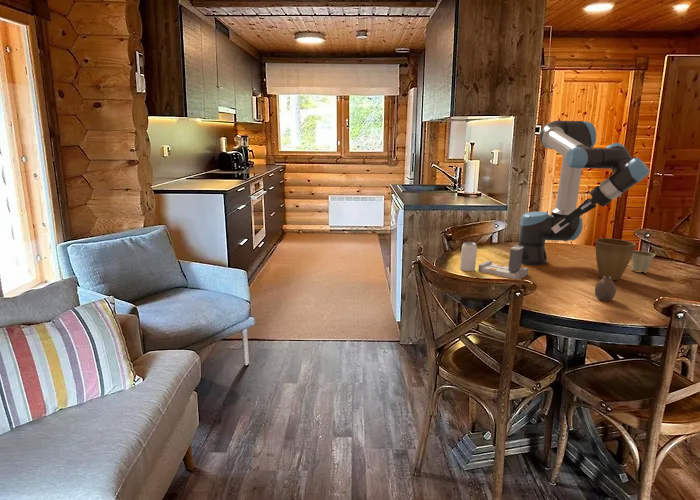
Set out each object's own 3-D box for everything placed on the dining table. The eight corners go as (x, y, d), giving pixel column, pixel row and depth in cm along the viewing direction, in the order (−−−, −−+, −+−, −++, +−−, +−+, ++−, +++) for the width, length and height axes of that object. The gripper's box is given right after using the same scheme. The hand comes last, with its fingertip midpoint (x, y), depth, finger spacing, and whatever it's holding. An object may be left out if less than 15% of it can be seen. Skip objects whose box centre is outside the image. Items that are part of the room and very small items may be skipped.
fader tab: (520, 272, 211) (523, 246, 208) (515, 275, 206) (517, 249, 203) (513, 271, 212) (516, 245, 210) (507, 274, 208) (510, 247, 205)
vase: (589, 296, 185) (593, 274, 183) (607, 296, 186) (610, 274, 184) (600, 302, 178) (603, 279, 176) (618, 302, 179) (622, 279, 177)
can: (475, 272, 213) (477, 245, 210) (460, 271, 214) (462, 244, 211) (474, 268, 219) (477, 242, 216) (459, 267, 220) (462, 241, 217)
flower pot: (650, 270, 222) (653, 252, 220) (653, 276, 214) (656, 256, 212) (626, 267, 226) (630, 249, 224) (628, 273, 217) (631, 254, 215)
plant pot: (632, 285, 200) (639, 247, 196) (592, 280, 205) (597, 243, 201) (626, 275, 213) (632, 239, 209) (588, 271, 218) (594, 236, 214)
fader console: (527, 274, 211) (528, 268, 210) (518, 280, 203) (519, 273, 202) (487, 266, 222) (488, 260, 221) (478, 271, 214) (478, 264, 213)
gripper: (608, 202, 175) (554, 240, 189) (616, 199, 185) (564, 235, 199) (594, 185, 177) (542, 225, 191) (603, 183, 187) (553, 221, 201)
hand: (553, 230), depth 195 cm, fingers closed
